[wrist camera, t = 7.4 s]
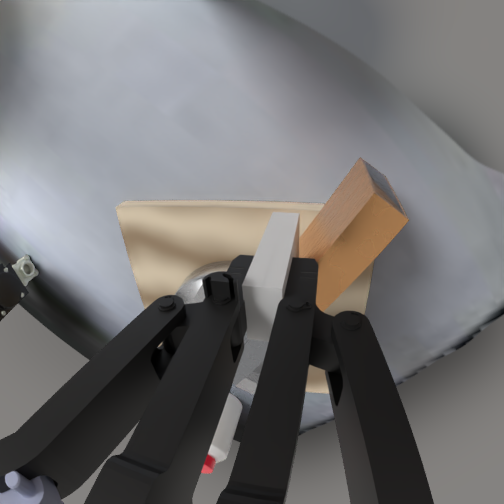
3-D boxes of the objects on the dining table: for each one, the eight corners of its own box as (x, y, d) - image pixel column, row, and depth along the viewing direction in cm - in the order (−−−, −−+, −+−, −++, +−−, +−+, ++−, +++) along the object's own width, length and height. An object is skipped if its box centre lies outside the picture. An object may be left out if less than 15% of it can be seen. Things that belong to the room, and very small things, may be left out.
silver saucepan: (265, 379, 33) (248, 444, 26) (162, 321, 32) (125, 381, 25) (436, 214, 19) (478, 282, 12) (285, 103, 18) (258, 116, 11)
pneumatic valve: (54, 270, 36) (-3, 326, 26) (24, 285, 40) (-22, 331, 30) (33, 236, 33) (-30, 287, 23) (7, 257, 38) (-43, 300, 28)
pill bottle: (253, 406, 40) (233, 474, 31) (224, 418, 44) (203, 478, 35) (207, 378, 39) (178, 448, 29) (182, 394, 43) (155, 454, 33)
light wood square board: (124, 201, 27) (114, 208, 26) (377, 206, 22) (380, 215, 21) (171, 360, 38) (166, 370, 37) (344, 384, 33) (344, 396, 32)
